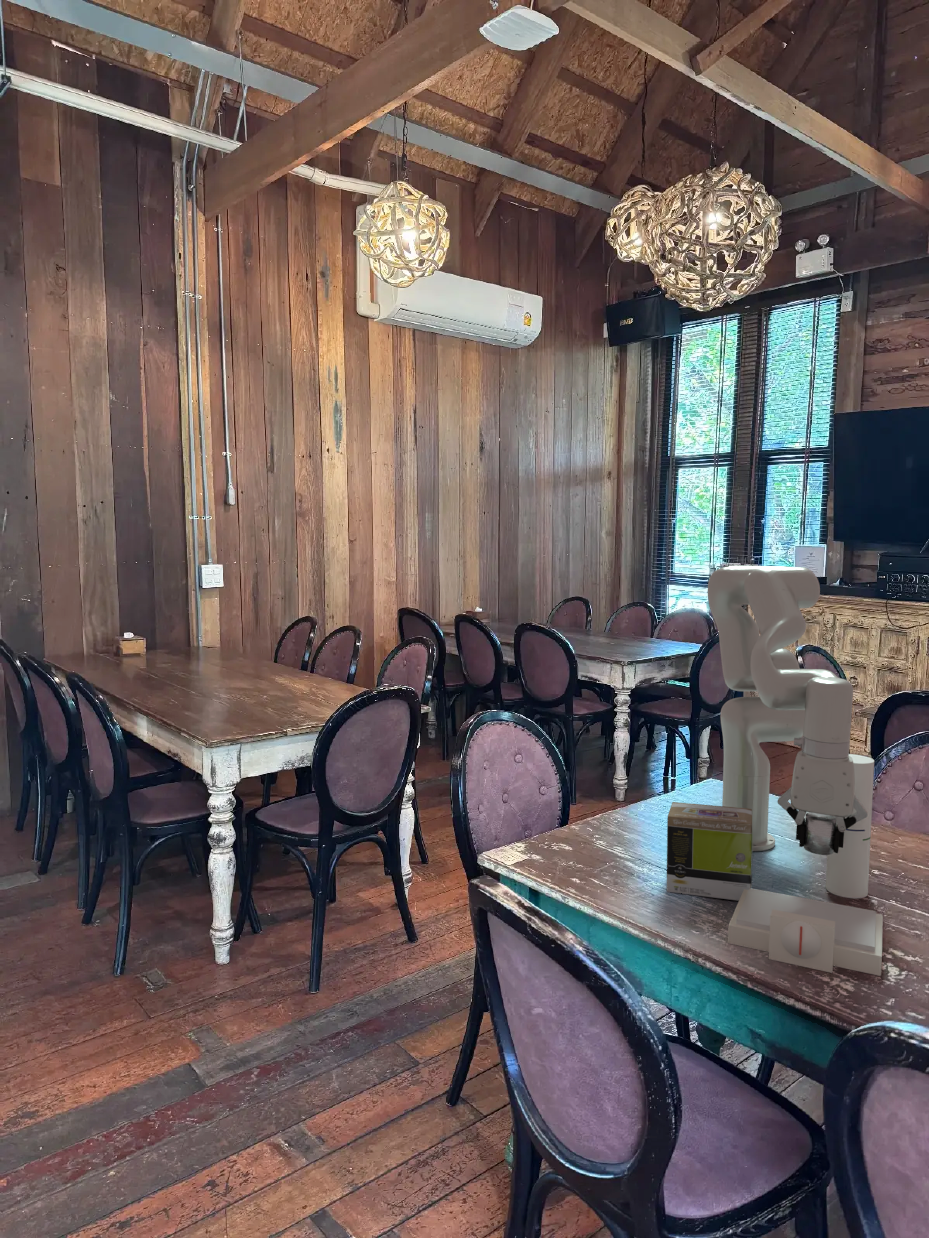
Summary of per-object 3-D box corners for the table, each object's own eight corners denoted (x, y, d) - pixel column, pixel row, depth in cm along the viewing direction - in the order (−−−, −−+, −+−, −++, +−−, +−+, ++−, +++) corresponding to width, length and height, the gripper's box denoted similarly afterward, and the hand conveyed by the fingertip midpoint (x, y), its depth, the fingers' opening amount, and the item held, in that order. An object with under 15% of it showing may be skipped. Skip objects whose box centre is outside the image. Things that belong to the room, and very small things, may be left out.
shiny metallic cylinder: (802, 851, 146) (804, 818, 145) (804, 841, 151) (807, 809, 150) (833, 856, 144) (835, 823, 143) (835, 846, 148) (837, 814, 148)
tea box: (751, 883, 157) (753, 807, 156) (751, 904, 148) (754, 824, 146) (669, 872, 162) (672, 799, 161) (664, 892, 153) (667, 814, 151)
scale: (724, 951, 130) (726, 908, 130) (743, 905, 147) (744, 867, 147) (880, 985, 120) (883, 938, 120) (881, 932, 137) (883, 891, 137)
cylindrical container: (818, 883, 157) (824, 754, 155) (854, 882, 158) (860, 753, 156) (838, 898, 150) (844, 763, 148) (875, 897, 151) (882, 763, 149)
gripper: (771, 746, 145) (765, 845, 148) (879, 760, 138) (871, 864, 140) (776, 736, 152) (771, 831, 154) (880, 749, 144) (872, 849, 147)
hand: (819, 846), depth 147 cm, fingers closed on shiny metallic cylinder, 5 cm apart
